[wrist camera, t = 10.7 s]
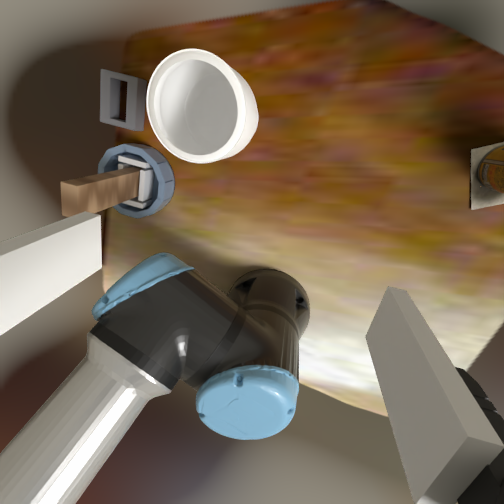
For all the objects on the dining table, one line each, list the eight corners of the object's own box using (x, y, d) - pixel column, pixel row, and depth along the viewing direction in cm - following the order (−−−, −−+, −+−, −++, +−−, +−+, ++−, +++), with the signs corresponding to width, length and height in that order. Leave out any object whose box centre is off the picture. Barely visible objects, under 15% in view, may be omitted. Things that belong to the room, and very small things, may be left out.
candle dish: (171, 218, 50) (160, 225, 47) (112, 201, 51) (97, 207, 47) (179, 153, 46) (168, 155, 42) (114, 136, 47) (98, 136, 43)
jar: (184, 126, 44) (130, 124, 31) (218, 59, 40) (173, 21, 26) (241, 168, 45) (213, 184, 32) (280, 106, 41) (267, 94, 27)
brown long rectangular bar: (145, 193, 48) (77, 219, 34) (134, 190, 48) (62, 215, 34) (147, 169, 47) (77, 186, 32) (135, 166, 47) (60, 181, 32)
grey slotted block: (143, 130, 46) (134, 130, 43) (110, 122, 46) (100, 121, 44) (146, 80, 43) (137, 77, 40) (111, 71, 43) (100, 68, 41)
